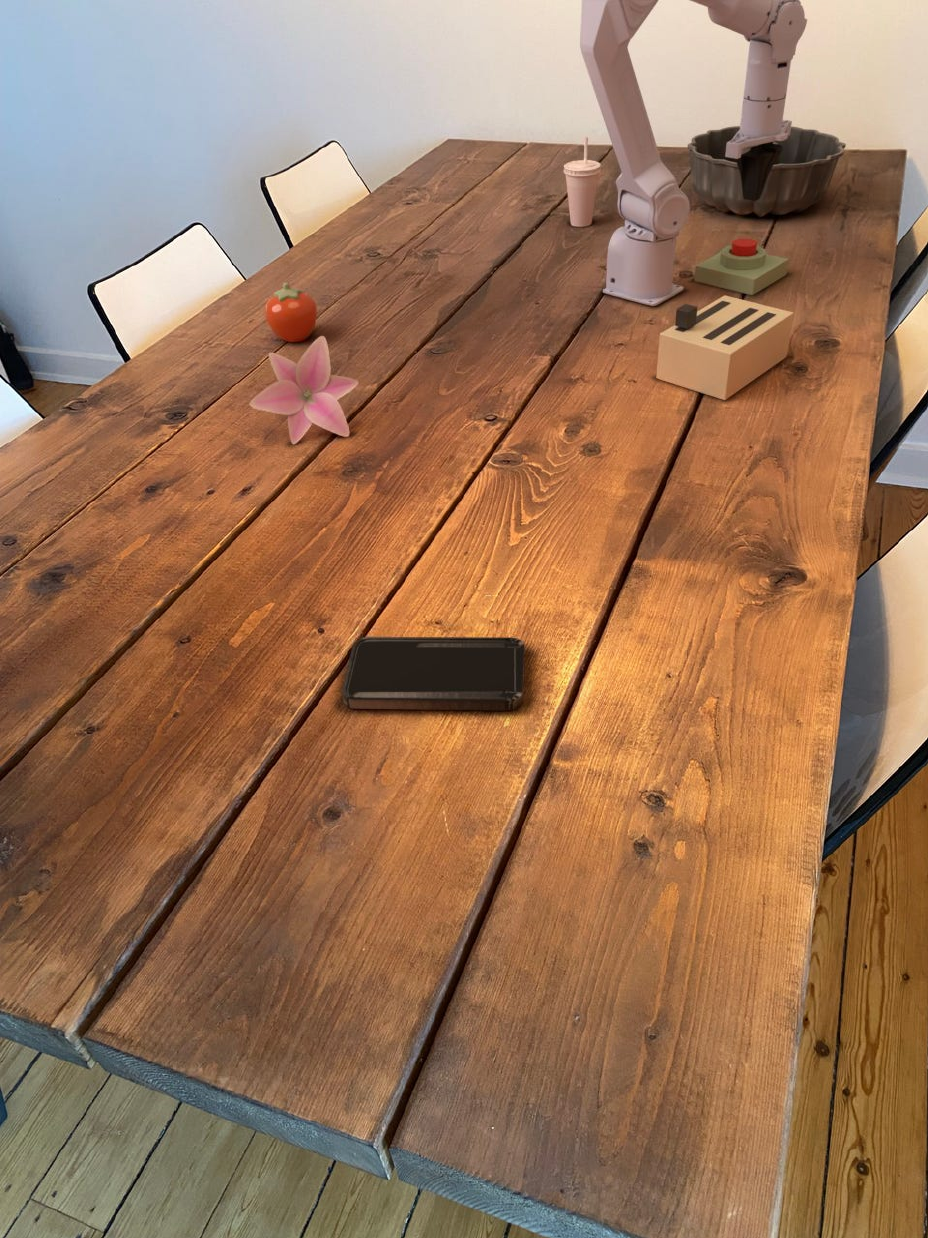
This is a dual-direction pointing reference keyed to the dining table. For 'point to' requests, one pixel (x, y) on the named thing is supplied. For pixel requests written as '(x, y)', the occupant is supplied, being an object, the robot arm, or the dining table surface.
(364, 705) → the phone
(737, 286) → the green button base
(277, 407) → the lily
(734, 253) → the timer button
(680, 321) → the slider
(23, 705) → the dining table surface
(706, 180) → the bundt pan
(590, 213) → the smoothie
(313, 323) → the tomato
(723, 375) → the toaster
